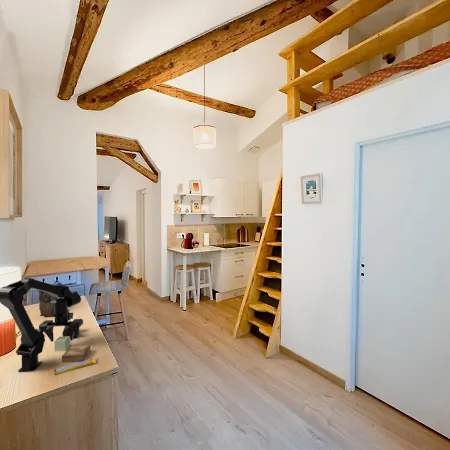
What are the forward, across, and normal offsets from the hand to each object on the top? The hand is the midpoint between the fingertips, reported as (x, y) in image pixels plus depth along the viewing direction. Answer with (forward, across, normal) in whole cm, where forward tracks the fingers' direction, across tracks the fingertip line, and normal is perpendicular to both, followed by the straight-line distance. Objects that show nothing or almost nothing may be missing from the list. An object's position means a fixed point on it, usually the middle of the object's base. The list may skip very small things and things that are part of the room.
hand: (62, 340), depth 135 cm
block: (+4, 0, 0) cm, 4 cm away
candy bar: (+4, -14, +18) cm, 23 cm away
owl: (+4, +30, -49) cm, 58 cm away
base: (+4, -11, +9) cm, 14 cm away
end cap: (+4, +2, -14) cm, 15 cm away
